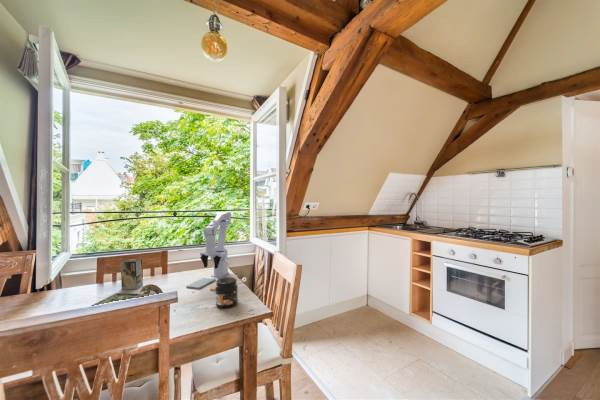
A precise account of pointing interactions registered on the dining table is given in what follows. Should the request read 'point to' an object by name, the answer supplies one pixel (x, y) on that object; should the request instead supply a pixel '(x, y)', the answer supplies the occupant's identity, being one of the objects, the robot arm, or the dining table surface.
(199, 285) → the board
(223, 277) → the stub
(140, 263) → the coffee box
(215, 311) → the dining table surface
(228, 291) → the supplement container
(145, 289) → the olive sloped mound
